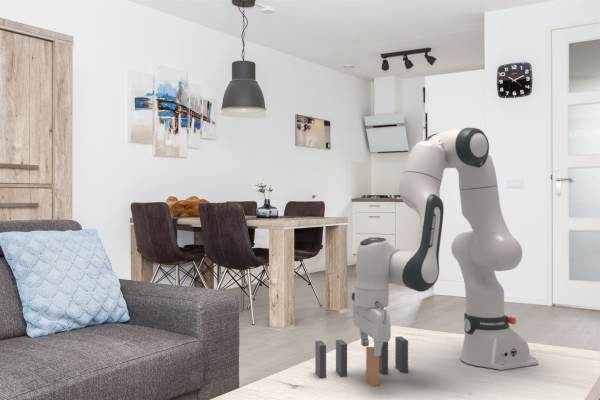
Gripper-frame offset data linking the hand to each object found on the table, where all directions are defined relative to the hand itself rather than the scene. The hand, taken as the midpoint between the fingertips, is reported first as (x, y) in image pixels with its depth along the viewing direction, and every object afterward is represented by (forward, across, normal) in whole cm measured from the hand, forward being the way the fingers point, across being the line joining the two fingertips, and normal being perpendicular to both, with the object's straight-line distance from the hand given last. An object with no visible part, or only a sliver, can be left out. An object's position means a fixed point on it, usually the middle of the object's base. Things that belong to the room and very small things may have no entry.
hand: (370, 350), depth 151 cm
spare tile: (+9, 0, -1) cm, 9 cm away
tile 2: (+9, +9, +5) cm, 14 cm away
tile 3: (+9, +9, -7) cm, 14 cm away
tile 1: (+9, +9, +11) cm, 17 cm away
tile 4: (+8, +9, -13) cm, 18 cm away
